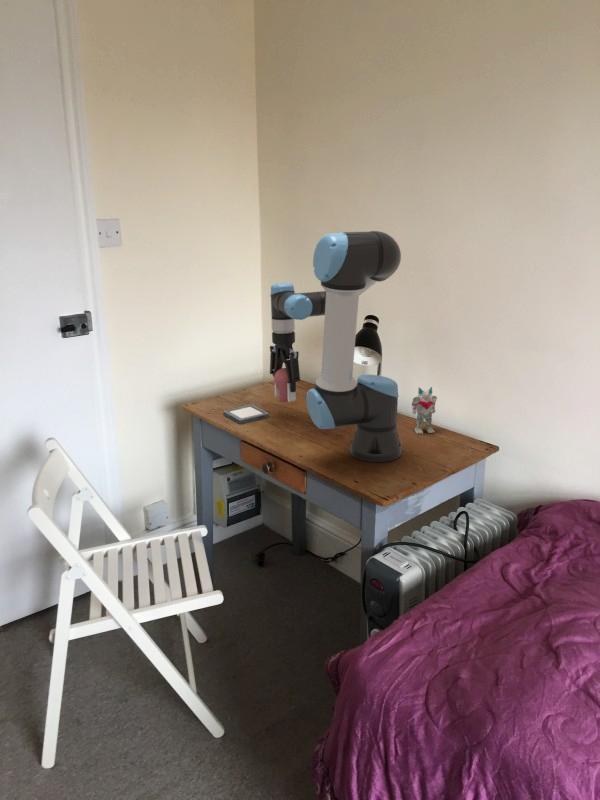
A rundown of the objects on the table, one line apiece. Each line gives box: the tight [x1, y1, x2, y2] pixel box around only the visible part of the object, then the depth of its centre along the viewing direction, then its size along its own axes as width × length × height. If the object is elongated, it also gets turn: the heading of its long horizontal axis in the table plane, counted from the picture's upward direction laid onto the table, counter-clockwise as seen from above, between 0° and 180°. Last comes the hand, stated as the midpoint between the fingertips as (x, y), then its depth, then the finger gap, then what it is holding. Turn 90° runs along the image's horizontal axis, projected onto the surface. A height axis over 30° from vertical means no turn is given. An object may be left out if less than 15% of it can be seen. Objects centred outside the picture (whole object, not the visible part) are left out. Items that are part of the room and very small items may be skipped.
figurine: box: [411, 386, 438, 435], centre depth 208 cm, size 8×8×15 cm
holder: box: [222, 403, 270, 425], centre depth 224 cm, size 12×12×2 cm
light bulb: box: [273, 367, 289, 404], centre depth 218 cm, size 7×7×12 cm
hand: (285, 398), depth 220 cm, fingers closed on light bulb, 7 cm apart
